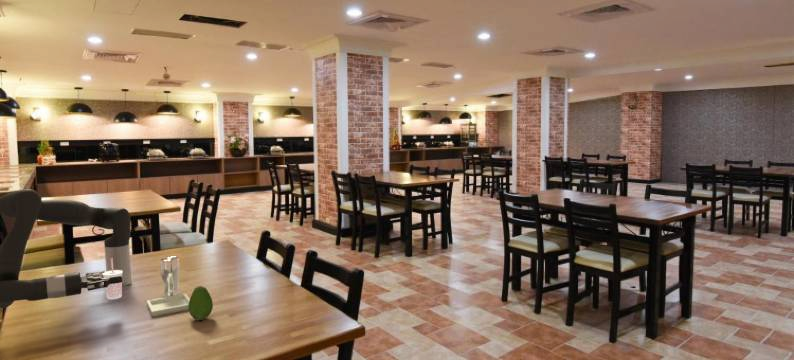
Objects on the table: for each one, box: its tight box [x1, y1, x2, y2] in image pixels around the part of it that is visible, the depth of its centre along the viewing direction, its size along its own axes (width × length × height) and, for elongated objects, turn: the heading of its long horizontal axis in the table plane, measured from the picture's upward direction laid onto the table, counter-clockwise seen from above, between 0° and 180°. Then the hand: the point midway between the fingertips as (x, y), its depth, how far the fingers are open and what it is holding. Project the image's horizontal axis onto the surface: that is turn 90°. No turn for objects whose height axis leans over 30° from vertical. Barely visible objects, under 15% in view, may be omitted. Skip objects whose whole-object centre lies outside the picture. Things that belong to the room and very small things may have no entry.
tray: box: [145, 293, 191, 318], centre depth 184 cm, size 14×14×2 cm
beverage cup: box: [103, 258, 123, 301], centre depth 173 cm, size 6×6×14 cm
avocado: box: [187, 285, 214, 321], centre depth 172 cm, size 8×8×12 cm
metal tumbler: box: [159, 255, 181, 298], centre depth 198 cm, size 7×7×15 cm
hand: (120, 276), depth 175 cm, fingers closed on beverage cup, 6 cm apart
